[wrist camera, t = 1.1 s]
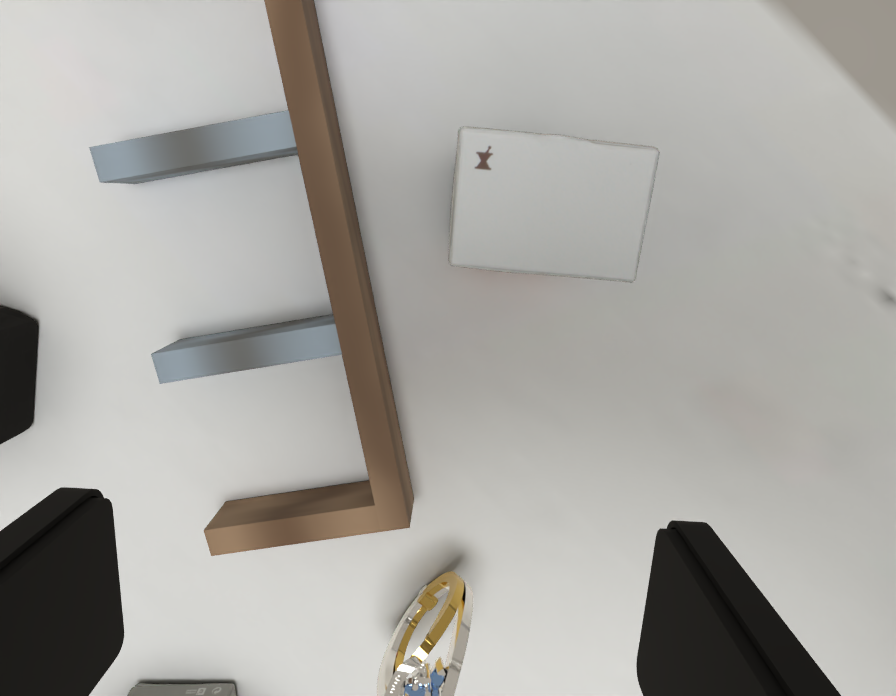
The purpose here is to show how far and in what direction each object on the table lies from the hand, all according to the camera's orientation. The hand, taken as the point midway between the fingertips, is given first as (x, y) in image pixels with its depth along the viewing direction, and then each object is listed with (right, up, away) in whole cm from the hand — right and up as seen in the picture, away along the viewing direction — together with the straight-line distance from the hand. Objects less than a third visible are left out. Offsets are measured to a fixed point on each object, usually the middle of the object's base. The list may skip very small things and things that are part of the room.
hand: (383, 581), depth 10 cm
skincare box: (+4, +11, +19) cm, 23 cm away
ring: (0, -10, +25) cm, 27 cm away
